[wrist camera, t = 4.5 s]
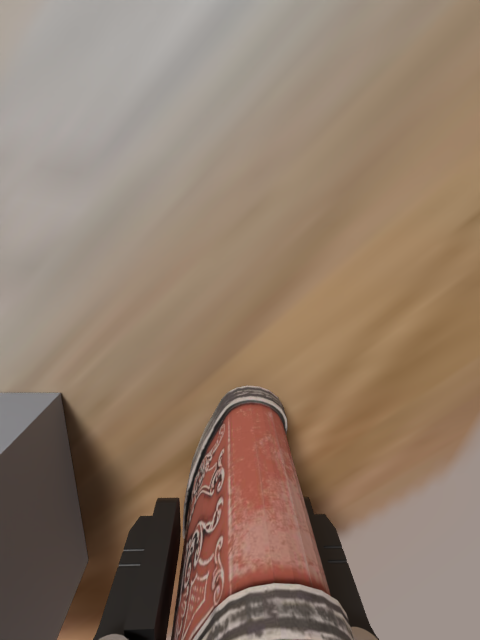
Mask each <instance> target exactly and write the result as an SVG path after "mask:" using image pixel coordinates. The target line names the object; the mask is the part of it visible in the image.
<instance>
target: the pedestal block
mask: <svg viewBox="0 0 480 640" xmlns="http://www.w3.org/2000/svg"><path fill="white" fill-rule="evenodd" d="M87 563H88V554H87V548H86V542H85V536H84V530H83V524H82V518H81V512H80V506H79V500H78V494H77V488H76V482H75V476H74V470H73V464H72V458H71V452H70V446H69V441H68V435H67V429H66V423H65V417H64V411H63V405H62V399H61V393H0V640H57V637H58V635H59V632H60V630H61V627H62V625H63V622H64V620H65V617H66V615H67V612H68V610H69V607H70V605H71V603H72V600H73V598H74V595H75V593H76V590H77V588H78V585H79V583H80V580H81V578H82V575H83V573H84V570H85V568H86V565H87Z"/></svg>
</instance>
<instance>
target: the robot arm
mask: <svg viewBox="0 0 480 640" xmlns="http://www.w3.org/2000/svg"><path fill="white" fill-rule="evenodd" d="M303 499H304V502H305V506H306V509H307V513H308V516H309V520H310V524H311V527H312V531H313V534H314V538H315V542H316V545H317V549H318V552H319V556H320V559H321V563H322V567H323V570H324V574H325V577H326V581H327V585H328V588H329V592H330V595H331V597H333V598H334V599H336V600H338V602H339V603H340V605H341V606H342V608H343V609H344V611H345V612H346V614H347V617H348V620H349V624H350V627H351V630H352V634H353V637H354V640H379V639H378V638H377V636H376V635H375V633H374V632H373V630H372V628H371V626H370V624H369V621H368V619H367V617H366V613H365V610H364V608H363V605H362V602H361V599H360V596H359V593H358V591H357V588H356V585H355V582H354V579H353V576H352V574H351V571H350V568H349V565H348V563H347V560H346V557H345V554H344V551H343V549H342V545H341V542H340V540H339V537H338V534H337V531H336V528H335V527H334V526H333V525H332V523H331V522H330V521H329V519H328V518H327V517H326V515H325V514H314V513H313V509H312V506H311V503H310V500H309V498H308V497H303ZM180 532H181V527H180V502H179V498H158V499H157V502H156V505H155V509H154V513H153V516H140V517H139V519H138V520H137V521H136V523H135V524H134V526H133V527H132V528H131V530H130V531H129V534H128V537H127V540H126V543H125V546H124V551H123V553H122V556H121V559H120V562H119V567H118V568H117V572H116V575H115V578H114V581H113V584H112V587H111V590H110V594H109V597H108V600H107V603H106V606H105V609H104V612H103V616H102V619H101V622H100V625H99V628H98V630H97V633H96V635H95V637H94V639H93V640H166V634H167V628H168V621H169V614H170V607H171V601H172V594H173V587H174V580H175V574H176V567H177V560H178V554H179V546H180Z"/></svg>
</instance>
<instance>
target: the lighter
mask: <svg viewBox="0 0 480 640" xmlns="http://www.w3.org/2000/svg"><path fill="white" fill-rule="evenodd" d="M286 432H287V418H286V415H285V412H284V408H283V405H282V403H281V402H280V400H279V398H278V397H277V396H276V395H275V394H273V393H272V392H271V391H269V390H267V389H264V388H262V387H258V386H243V387H237V388H235V389H233V390H231V391H229V392H228V393H227V394H226V395H225V396H224V397H223V398H222V399H221V401H220V403H219V405H218V406H217V408H216V410H215V412H214V413H213V415H212V417H211V419H210V421H209V422H208V424H207V426H206V428H205V430H204V432H203V435H202V437H201V440H200V442H199V445H198V447H197V450H196V452H195V455H194V457H193V460H192V465H191V470H190V475H189V480H188V484H187V489H186V496H185V503H184V515H183V538H184V546H183V554H182V561H181V569H180V576H179V584H178V591H177V599H176V606H175V614H174V621H173V629H172V636H171V640H354V637H353V634H352V630H351V627H350V624H349V620H348V617H347V614H346V612H345V611H344V609H343V608H342V606H341V605H340V603H339V602H338V600H336V599H334V598H333V597H331V595H330V592H329V588H328V585H327V581H326V577H325V574H324V570H323V567H322V563H321V559H320V556H319V552H318V549H317V545H316V542H315V538H314V534H313V531H312V527H311V524H310V520H309V516H308V513H307V509H306V506H305V502H304V499H303V495H302V491H301V488H300V484H299V481H298V477H297V473H296V470H295V466H294V463H293V459H292V455H291V452H290V448H289V445H288V441H287V438H286Z"/></svg>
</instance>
